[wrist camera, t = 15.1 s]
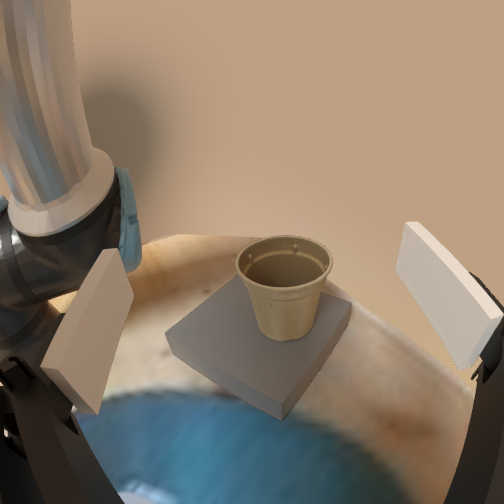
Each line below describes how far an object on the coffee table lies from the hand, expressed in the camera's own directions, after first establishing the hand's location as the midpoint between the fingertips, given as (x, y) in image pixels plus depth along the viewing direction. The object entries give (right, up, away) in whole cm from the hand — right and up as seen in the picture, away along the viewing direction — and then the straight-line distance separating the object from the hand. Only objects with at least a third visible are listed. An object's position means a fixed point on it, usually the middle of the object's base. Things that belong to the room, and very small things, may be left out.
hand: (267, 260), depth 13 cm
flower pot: (+3, -8, +20) cm, 22 cm away
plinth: (+1, -11, +23) cm, 25 cm away
